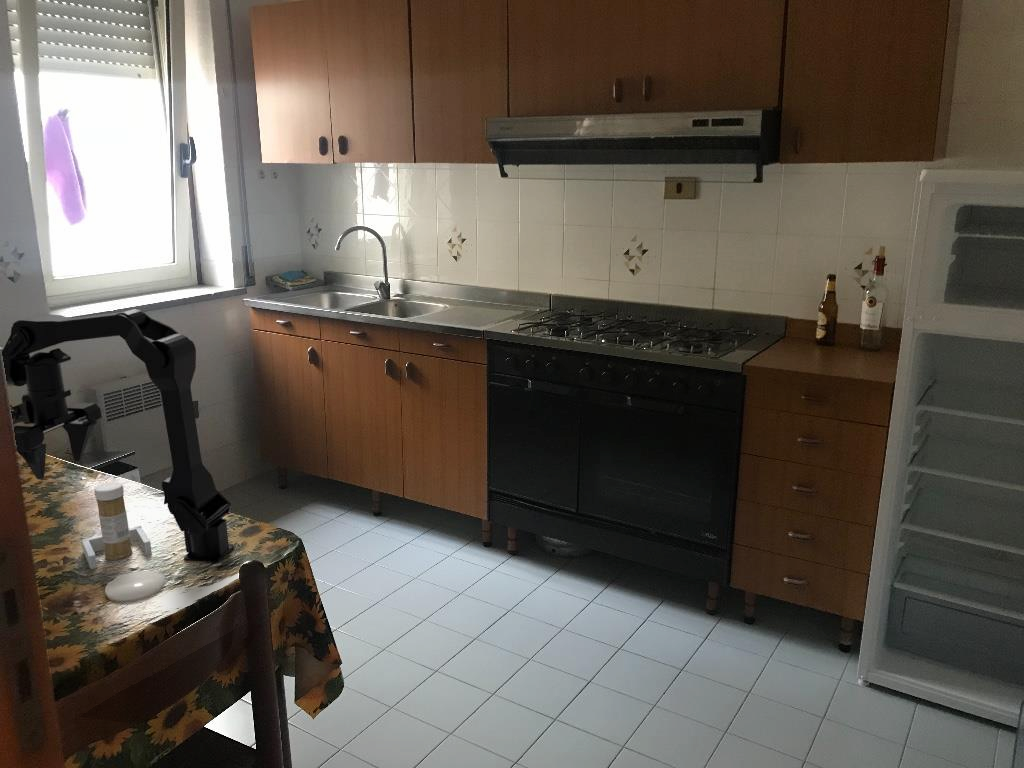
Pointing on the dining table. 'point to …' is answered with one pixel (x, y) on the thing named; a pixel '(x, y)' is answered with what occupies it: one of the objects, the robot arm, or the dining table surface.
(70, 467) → the dining table surface
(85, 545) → the grey archway
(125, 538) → the sprinkles bottle
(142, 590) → the coaster
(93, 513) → the dining table surface
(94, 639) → the dining table surface
